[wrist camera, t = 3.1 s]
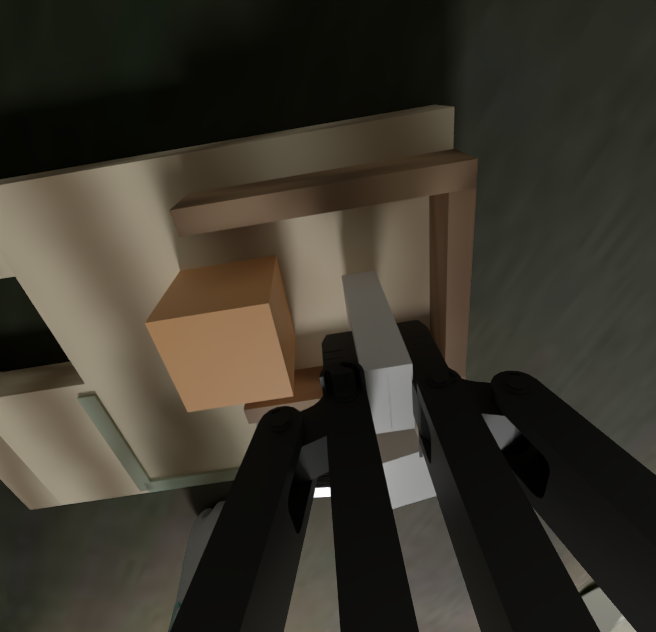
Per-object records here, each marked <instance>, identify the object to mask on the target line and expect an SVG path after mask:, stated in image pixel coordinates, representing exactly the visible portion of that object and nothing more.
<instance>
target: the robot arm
mask: <svg viewBox="0 0 656 632" xmlns="http://www.w3.org/2000/svg"><path fill="white" fill-rule="evenodd" d="M342 283H343V290H344V297H345V304H346V311H347V318H348V325H349V331H347V332H341V333H335V334H328V335H326V336H325V338H324V340H323V342H322V343H321V344H322V358H323V369H322V371H321V372H320V377H319V378H320V383H321V387H322V392H323V396H322V398H321V399H320V400H319V401H318V402H317V403H316V404H314V405H313V406H311V407H309V408H307V409H305V410H302V411H299V410H297V409H296V408H294V407H290V406H280V407H276V408H274V409H271V410H269V411H268V412H267V413H266V414H264V415H263V416H262V418H261V419H260V421H259V423H258V425H257V427H256V430H255V432H254V434H253V437H252V439H251V441H250V444H249V446H248V449H247V451H246V453H245V456H244V458H243V460H242V463H241V465H240V467H239V470H238V472H237V474H236V477H235V479H234V482H233V484H232V486H231V489H230V491H229V493H228V496H227V498H226V500H225V503H224V505H223V507H222V510H221V512H220V514H219V517H218V519H217V522H216V524H215V526H214V529H213V531H212V533H211V536H210V538H209V540H208V543H207V545H206V547H205V550H204V552H203V555H202V557H201V559H200V562H199V564H198V566H197V569H196V571H195V573H194V576H193V578H192V580H191V583H190V585H189V588H188V590H187V592H186V595H185V597H184V599H183V602H182V604H181V606H180V609H179V611H178V613H177V616H176V618H175V621H174V623H173V625H172V628H171V630H170V632H284V628H285V623H286V619H287V614H288V610H289V605H290V601H291V596H292V592H293V587H294V583H295V578H296V574H297V569H298V565H299V560H300V556H301V551H302V547H303V542H304V537H305V533H306V528H307V524H308V519H309V515H310V510H311V506H312V501H313V497H314V492H315V488H316V483H317V477H319V476H321V475H323V474H325V473H327V472H329V478H330V492H331V506H332V519H333V533H334V547H335V561H336V574H337V588H338V602H339V616H340V630H341V632H419V630H418V625H417V621H416V616H415V611H414V607H413V602H412V598H411V593H410V588H409V584H408V579H407V575H406V570H405V565H404V561H403V556H402V551H401V547H400V542H399V538H398V533H397V528H396V524H395V519H394V515H393V510H392V505H391V501H390V496H389V492H388V487H387V482H386V478H385V473H384V468H383V464H382V459H381V455H380V450H379V445H378V441H377V436H376V434H379V433H386V432H392V431H399V430H406V429H413V428H415V421H416V424H417V427H418V434H419V458H420V457H423V456H424V459H425V462H426V465H427V468H428V471H429V474H430V477H431V480H432V483H433V486H434V489H435V492H436V495H437V498H438V501H439V505H440V508H441V511H442V514H443V517H444V520H445V523H446V526H447V529H448V532H449V535H450V538H451V541H452V544H453V547H454V550H455V553H456V557H457V560H458V563H459V566H460V569H461V572H462V575H463V578H464V581H465V584H466V587H467V590H468V593H469V596H470V599H471V602H472V605H473V609H474V612H475V615H476V618H477V621H478V624H479V627H480V630H481V632H600V630H599V629H598V627H597V625H596V623H595V621H594V619H593V618H592V616H591V614H590V612H589V610H588V608H587V607H586V605H585V603H584V601H583V599H582V597H581V596H580V594H579V592H578V590H577V588H576V586H575V585H574V583H573V581H572V579H571V577H570V575H569V574H568V572H567V570H566V568H565V566H564V564H563V563H562V561H561V559H560V557H559V555H558V553H557V552H556V550H555V548H554V546H553V544H552V543H551V541H550V539H549V537H548V535H547V533H546V532H545V530H544V528H543V526H542V524H541V522H540V521H539V519H538V517H537V515H536V513H535V511H534V510H533V508H534V509H535V510H536V512H537V513H538V514H539V515H540V516H541V518H542V519H543V520H544V521H545V522H546V524H547V525H548V526H549V527H550V528H551V530H552V531H553V532H554V533H555V534H556V536H557V537H558V538H559V539H560V540H561V542H562V543H563V544H564V545H565V546H566V548H567V549H568V550H569V551H570V552H571V554H572V555H573V556H574V557H575V558H576V560H577V561H578V562H579V563H580V564H581V566H582V567H583V568H584V569H585V570H586V571H587V573H588V574H589V575H590V576H591V577H592V579H593V580H594V581H595V582H596V583H597V585H598V586H599V587H600V588H601V589H602V590H603V592H604V593H605V594H606V595H607V597H608V598H609V599H610V600H611V601H612V603H613V604H614V605H615V606H616V607H617V608H618V610H619V611H620V612H621V613H622V615H623V616H624V617H625V618H626V619H627V621H628V622H629V623H630V624H631V625H632V627H633V628H634V629H635V630H636V631H637V632H656V475H655V474H654V473H652V472H651V471H650V470H649V469H647V468H646V467H645V466H644V465H642V464H641V463H640V462H639V461H637V460H636V459H635V458H634V457H632V456H631V455H630V454H629V453H627V452H626V451H625V450H624V449H622V448H621V447H620V446H619V445H618V444H616V443H615V442H614V441H613V440H611V439H610V438H609V437H608V436H606V435H605V434H604V433H603V432H601V431H600V430H599V429H598V428H596V427H595V426H594V425H593V424H591V423H590V422H589V421H588V420H586V419H585V418H584V417H583V416H582V415H580V414H579V413H578V412H577V411H575V410H574V409H573V408H572V407H570V406H569V405H568V404H567V403H565V402H564V401H563V400H562V399H560V398H559V397H558V396H557V395H555V394H554V393H553V392H552V391H550V390H549V389H548V388H547V387H545V386H544V385H543V384H542V383H541V382H539V381H538V380H537V379H535V378H534V377H532V376H530V375H529V374H526V373H522V372H519V371H504V372H500V373H498V374H497V375H495V376H494V377H493V379H492V380H491V383H486V382H475V381H469V380H465V379H462V378H461V376H460V375H459V374H458V373H457V372H456V371H454V370H452V369H450V368H449V367H448V366H447V364H446V362H445V360H444V358H443V356H442V354H441V352H440V350H439V348H438V347H437V345H436V343H435V341H434V339H433V337H432V336H431V333H430V331H429V329H428V327H427V326H426V325H424V324H423V323H422V322H420V321H419V320H412V321H406V322H399V323H396V321H395V319H394V316H393V314H392V311H391V309H390V306H389V304H388V301H387V299H386V296H385V294H384V291H383V289H382V286H381V284H380V281H379V279H378V276H377V274H376V271H375V270H373V271H367V272H361V273H355V274H348V275H342ZM532 507H533V508H532Z"/></svg>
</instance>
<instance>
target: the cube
mask: <svg viewBox="0 0 656 632" xmlns="http://www.w3.org/2000/svg"><path fill="white" fill-rule="evenodd" d="M145 325H146V327H147V329H148V331H149V333H150V335H151V337H152V339H153V341H154V343H155V346H156V348H157V350H158V352H159V354H160V356H161V358H162V360H163V362H164V364H165V366H166V368H167V370H168V372H169V374H170V377H171V379H172V381H173V383H174V385H175V387H176V389H177V391H178V393H179V395H180V397H181V399H182V401H183V403H184V405H185V408H186V410H187V412H193V411H200V410H206V409H213V408H220V407H226V406H233V405H239V404H246V403H252V402H259V401H266V400H272V399H279V398H285V397H292V396H294V367H295V331H294V327H293V323H292V319H291V314H290V310H289V306H288V302H287V298H286V293H285V289H284V285H283V281H282V276H281V272H280V268H279V264H278V260H277V255H273V256H267V257H261V258H255V259H249V260H243V261H236V262H230V263H224V264H218V265H212V266H206V267H200V268H193V269H187V270H181V271H179V273H178V274H177V276H176V277H175V279H174V280H173V282H172V283H171V285H170V286H169V288H168V289H167V291H166V292H165V294H164V295H163V297H162V298H161V300H160V301H159V302H158V304H157V305H156V307H155V308H154V310H153V311H152V313H151V314H150V316H149V317H148V319H147V320H146V322H145Z"/></svg>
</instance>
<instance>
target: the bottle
mask: <svg viewBox="0 0 656 632" xmlns="http://www.w3.org/2000/svg"><path fill="white" fill-rule="evenodd" d="M224 503H225V501H221V502H218V503H217V504H216V506H215V507H214V509H211V508H208V509H205V510H204V511H203V512H201V513H200V515H199V516H198V517H197V519H196V521H195V523H194V525H193V527H192V530H191V533H190V536H189V539H188V543H187V548H186V552H185V556H184V562H183V567H182V573H181V578H180V584H179V590H178V594H177V599H176V603H175V607H174V610H173V614H172V618H171V622H170V626H169V630H168V632H170V630H171V628H172V625H173V623H174V621H175V618H176V616H177V613H178V611H179V609H180V606H181V604H182V602H183V599H184V597H185V595H186V592H187V590H188V588H189V585H190V583H191V580H192V578H193V576H194V573H195V571H196V569H197V566H198V564H199V562H200V559H201V557H202V555H203V552H204V550H205V547H206V545H207V543H208V540H209V538H210V536H211V533H212V531H213V529H214V526H215V524H216V522H217V519H218V517H219V514H220V512H221V510H222V507H223V505H224Z"/></svg>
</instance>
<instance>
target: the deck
mask: <svg viewBox="0 0 656 632" xmlns="http://www.w3.org/2000/svg"><path fill="white" fill-rule="evenodd" d="M453 142H454V107H451V106H442V105H430V106H424V107H418V108H412V109H406V110H401V111H395V112H389V113H383V114H377V115H372V116H366V117H360V118H354V119H348V120H343V121H337V122H331V123H325V124H319V125H314V126H308V127H302V128H296V129H290V130H285V131H279V132H273V133H267V134H261V135H256V136H250V137H244V138H238V139H232V140H227V141H221V142H215V143H209V144H203V145H198V146H192V147H186V148H180V149H174V150H169V151H163V152H157V153H151V154H145V155H140V156H134V157H128V158H122V159H116V160H111V161H105V162H99V163H93V164H87V165H82V166H76V167H70V168H64V169H58V170H52V171H47V172H41V173H35V174H29V175H23V176H18V177H12V178H6V179H0V279H1V278H7V277H13V276H15V277H16V278H17V280H18V281H19V283H20V284H21V286H22V288H23V289H24V291H25V292H26V294H27V295H28V297H29V298H30V300H31V301H32V303H33V304H34V306H35V308H36V309H37V311H38V312H39V314H40V315H41V317H42V318H43V320H44V321H45V323H46V324H47V326H48V328H49V329H50V331H51V332H52V334H53V335H54V337H55V338H56V340H57V341H58V343H59V344H60V346H61V348H62V349H63V351H64V352H65V354H66V355H67V357H68V358H69V360H70V362H63V363H57V364H51V365H44V366H38V367H32V368H25V369H19V370H12V371H6V372H1V371H0V479H1V480H2V481H3V482H4V483H5V484H6V486H7V487H8V488H9V489H10V490H11V491H12V492H13V493H14V494H15V495H16V496H17V497H18V498H19V499H20V500H21V501H22V502H23V503H24V504H25V505H26V506H27V507H28V508H29V509H30V510H32V509H39V508H46V507H52V506H59V505H66V504H73V503H80V502H87V501H94V500H100V499H107V498H114V497H121V496H128V495H135V494H141V493H148V492H156V491H163V490H170V489H177V488H184V487H190V486H197V485H204V484H211V483H218V482H225V481H232V480H234V479H235V477H236V474H237V472H238V470H239V467H240V465H241V463H242V460H243V458H244V456H245V453H246V451H247V449H248V446H249V444H250V441H251V439H252V437H253V434H254V432H255V430H256V427H257V425H258V423H253V424H249V423H248V421H247V418H246V415H245V413H244V405H245V404H239V405H233V406H226V407H220V408H213V409H206V410H200V411H193V412H187V410H186V408H185V405H184V403H183V401H182V399H181V397H180V395H179V393H178V391H177V389H176V387H175V385H174V383H173V381H172V379H171V377H170V374H169V372H168V370H167V368H166V366H165V364H164V362H163V360H162V358H161V356H160V354H159V352H158V350H157V348H156V346H155V343H154V341H153V339H152V337H151V335H150V333H149V331H148V329H147V327H146V325H145V322H146V320H147V319H148V317H149V316H150V314H151V313H152V311H153V310H154V308H155V307H156V305H157V304H158V302H159V301H160V300H161V298H162V297H163V295H164V294H165V292H166V291H167V289H168V288H169V286H170V285H171V283H172V282H173V280H174V279H175V277H176V276H177V274H178V273H179V271H181V270H187V269H193V268H200V267H206V266H212V265H218V264H224V263H230V262H236V261H243V260H249V259H255V258H261V257H267V256H273V255H277V260H278V264H279V268H280V272H281V276H282V281H283V285H284V289H285V293H286V298H287V302H288V306H289V310H290V314H291V319H292V323H293V327H294V331H295V367H294V370H298V369H305V368H311V367H318V366H323V358H322V344H321V343H322V342H323V340H324V338H325V336H326V335H328V334H335V333H341V332H347V331H349V325H348V318H347V311H346V304H345V297H344V290H343V283H342V275H348V274H355V273H361V272H367V271H373V270H375V271H376V274H377V276H378V279H379V281H380V284H381V286H382V289H383V291H384V294H385V296H386V299H387V301H388V304H389V306H390V309H391V311H392V314H393V316H394V319H395V321H396V323H399V322H406V321H412V320H419V321H420V322H422V323H423V324H424V325H426V326H427V327H428V329H429V331H430V264H429V196H425V197H419V198H413V199H407V200H401V201H395V202H389V203H383V204H377V205H371V206H365V207H359V208H353V209H347V210H341V211H334V212H328V213H322V214H316V215H310V216H304V217H298V218H292V219H286V220H280V221H274V222H268V223H262V224H256V225H250V226H244V227H238V228H232V229H226V230H220V231H214V232H208V233H202V234H196V235H189V236H183V237H179V235H178V233H177V230H176V227H175V225H174V222H173V219H172V217H171V214H170V211H169V210H170V209H171V208H172V207H174V206H175V205H176V204H177V203H178V202H179V201H180V200H181V199H182V198H184V197H185V196H186V195H187V194H189V193H195V192H201V191H207V190H213V189H219V188H225V187H230V186H236V185H242V184H248V183H254V182H260V181H266V180H272V179H278V178H284V177H290V176H296V175H302V174H307V173H313V172H319V171H325V170H331V169H337V168H343V167H349V166H355V165H361V164H367V163H373V162H379V161H384V160H390V159H396V158H402V157H408V156H414V155H420V154H426V153H432V152H438V151H444V150H450V149H453Z"/></svg>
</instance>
